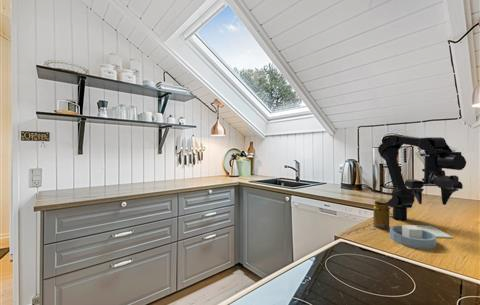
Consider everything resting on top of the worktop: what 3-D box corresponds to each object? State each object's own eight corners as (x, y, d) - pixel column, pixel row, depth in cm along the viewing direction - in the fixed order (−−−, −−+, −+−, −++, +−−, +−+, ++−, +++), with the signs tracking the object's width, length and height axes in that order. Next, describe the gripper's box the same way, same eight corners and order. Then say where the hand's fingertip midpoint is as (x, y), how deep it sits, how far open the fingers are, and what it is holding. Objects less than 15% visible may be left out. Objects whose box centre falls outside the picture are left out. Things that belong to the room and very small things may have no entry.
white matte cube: (401, 236, 89) (402, 225, 89) (414, 236, 88) (414, 225, 88) (408, 241, 85) (409, 229, 84) (422, 241, 84) (422, 229, 84)
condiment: (374, 224, 105) (374, 198, 105) (396, 228, 100) (396, 202, 99) (370, 228, 100) (370, 201, 100) (393, 233, 94) (393, 205, 94)
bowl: (382, 233, 94) (383, 225, 94) (419, 235, 93) (419, 226, 92) (402, 249, 80) (402, 239, 80) (446, 251, 79) (446, 241, 79)
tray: (406, 227, 102) (406, 225, 101) (430, 228, 100) (430, 225, 100) (424, 238, 90) (424, 235, 90) (452, 239, 88) (452, 236, 88)
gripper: (421, 169, 88) (420, 209, 88) (475, 169, 85) (474, 210, 86) (404, 166, 99) (403, 201, 99) (452, 166, 96) (450, 203, 97)
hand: (432, 204), depth 95 cm, fingers open, 9 cm apart
